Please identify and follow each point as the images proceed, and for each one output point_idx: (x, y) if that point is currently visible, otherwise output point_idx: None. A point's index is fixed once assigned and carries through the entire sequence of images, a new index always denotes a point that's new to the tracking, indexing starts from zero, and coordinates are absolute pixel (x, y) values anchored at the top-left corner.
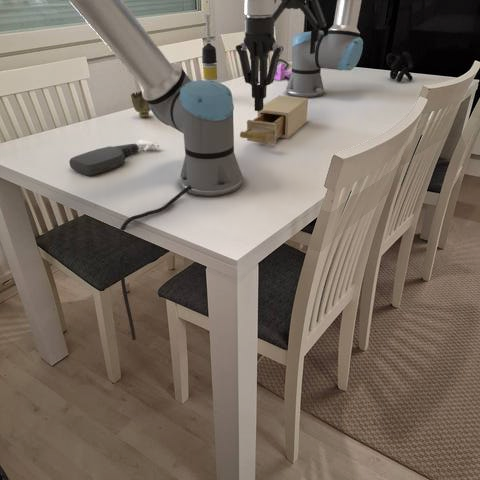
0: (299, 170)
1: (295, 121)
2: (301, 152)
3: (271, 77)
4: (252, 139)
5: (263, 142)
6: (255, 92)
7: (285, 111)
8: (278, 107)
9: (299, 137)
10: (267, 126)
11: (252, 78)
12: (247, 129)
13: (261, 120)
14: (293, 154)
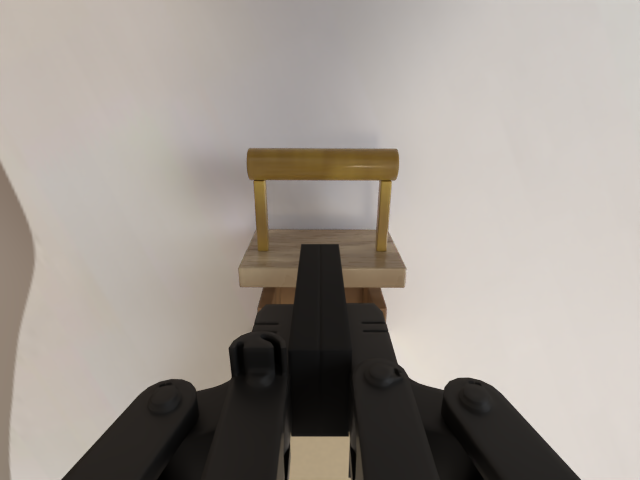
0: (33, 14)
1: None
2: (137, 219)
3: (74, 470)
4: (362, 232)
5: (308, 230)
6: (336, 313)
7: None
8: (319, 464)
9: (222, 358)
10: (284, 261)
11: (398, 431)
12: (394, 249)
13: None
14: (154, 186)
